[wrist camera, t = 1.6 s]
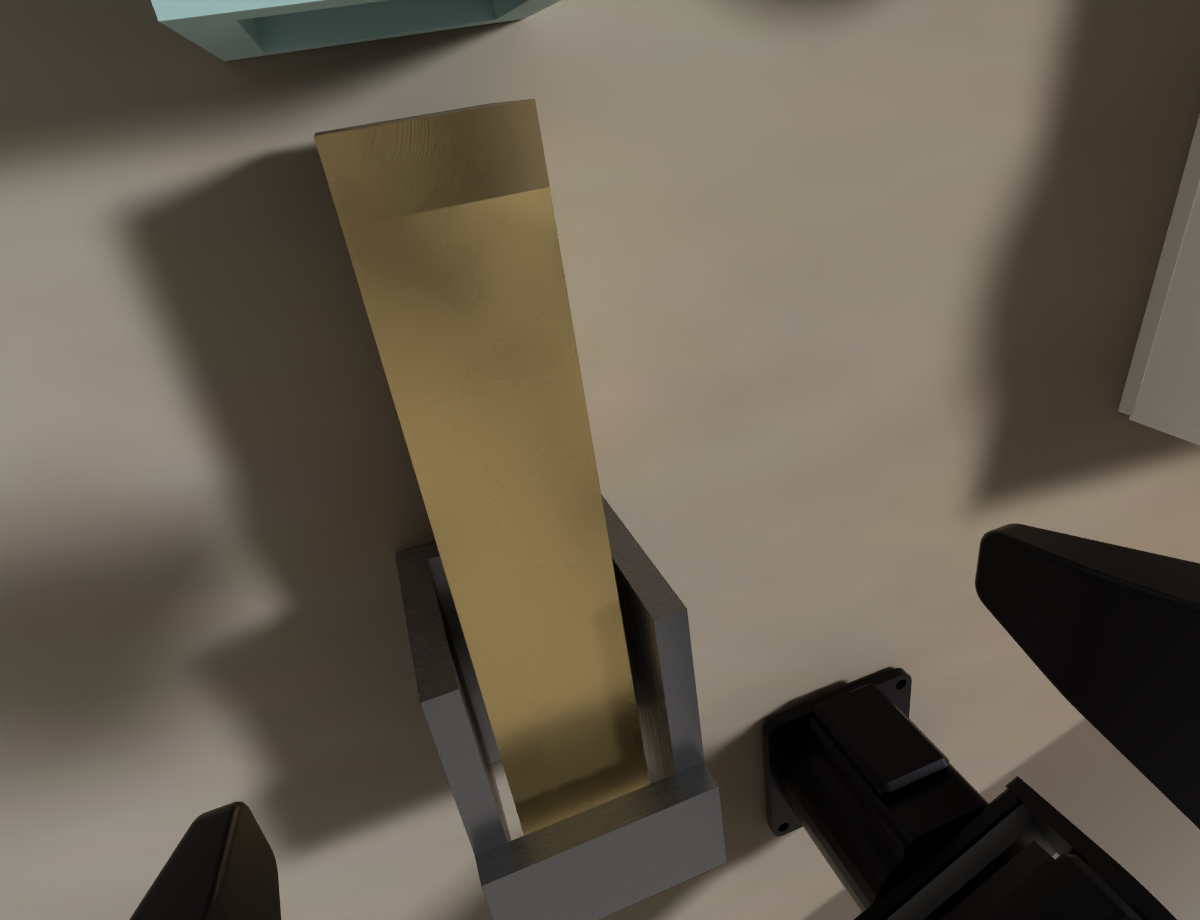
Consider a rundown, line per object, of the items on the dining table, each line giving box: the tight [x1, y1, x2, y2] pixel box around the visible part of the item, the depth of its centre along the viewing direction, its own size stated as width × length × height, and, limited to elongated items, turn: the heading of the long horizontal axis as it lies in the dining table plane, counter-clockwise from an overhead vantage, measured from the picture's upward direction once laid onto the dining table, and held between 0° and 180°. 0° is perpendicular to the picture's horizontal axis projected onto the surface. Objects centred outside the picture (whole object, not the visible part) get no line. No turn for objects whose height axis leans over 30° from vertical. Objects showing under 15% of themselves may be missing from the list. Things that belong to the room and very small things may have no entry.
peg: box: [314, 99, 650, 836], centre depth 17 cm, size 18×4×4 cm, turn 8°
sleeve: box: [395, 495, 727, 920], centre depth 20 cm, size 8×6×7 cm
